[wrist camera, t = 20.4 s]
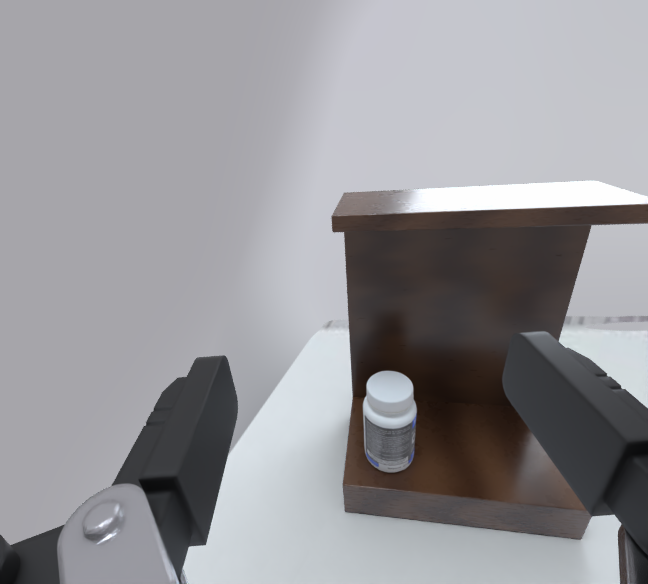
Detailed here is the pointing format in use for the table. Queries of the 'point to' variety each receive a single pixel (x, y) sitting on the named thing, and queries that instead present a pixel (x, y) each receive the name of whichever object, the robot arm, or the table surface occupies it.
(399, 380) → the pill bottle
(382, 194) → the shelf
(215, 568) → the table surface
